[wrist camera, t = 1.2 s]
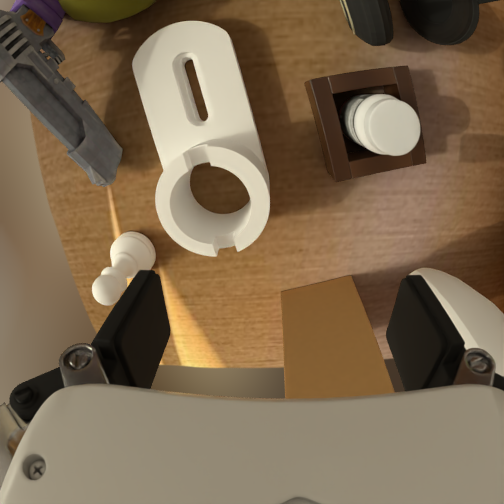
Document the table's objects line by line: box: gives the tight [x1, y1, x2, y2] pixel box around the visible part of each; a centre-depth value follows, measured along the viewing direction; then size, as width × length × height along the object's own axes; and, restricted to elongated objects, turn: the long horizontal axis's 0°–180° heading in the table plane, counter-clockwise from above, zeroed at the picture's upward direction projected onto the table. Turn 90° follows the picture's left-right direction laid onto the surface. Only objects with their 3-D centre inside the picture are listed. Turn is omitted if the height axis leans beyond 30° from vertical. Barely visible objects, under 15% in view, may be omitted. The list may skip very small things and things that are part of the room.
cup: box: [409, 268, 504, 377], centre depth 23 cm, size 10×10×22 cm
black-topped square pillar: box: [281, 275, 395, 399], centre depth 20 cm, size 8×8×35 cm
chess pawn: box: [92, 231, 156, 305], centre depth 29 cm, size 5×5×9 cm
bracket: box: [132, 21, 270, 256], centre depth 23 cm, size 20×9×7 cm, turn 15°
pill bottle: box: [339, 94, 420, 156], centre depth 21 cm, size 5×5×8 cm
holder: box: [305, 66, 426, 182], centre depth 24 cm, size 9×9×4 cm
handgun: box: [0, 0, 123, 187], centre depth 21 cm, size 3×22×15 cm
